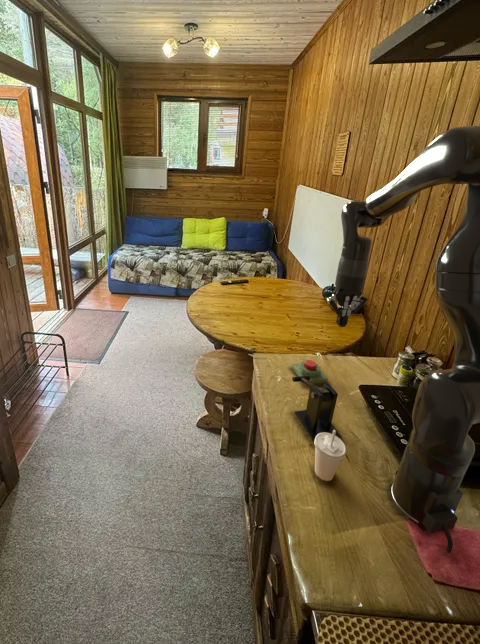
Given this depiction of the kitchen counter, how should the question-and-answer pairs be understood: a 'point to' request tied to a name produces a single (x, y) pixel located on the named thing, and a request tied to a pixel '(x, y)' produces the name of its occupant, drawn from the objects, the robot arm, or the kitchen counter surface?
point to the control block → (310, 373)
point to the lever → (306, 381)
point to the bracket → (318, 412)
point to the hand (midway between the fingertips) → (341, 325)
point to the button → (310, 365)
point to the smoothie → (328, 454)
